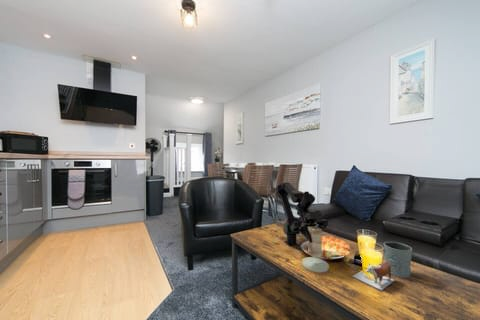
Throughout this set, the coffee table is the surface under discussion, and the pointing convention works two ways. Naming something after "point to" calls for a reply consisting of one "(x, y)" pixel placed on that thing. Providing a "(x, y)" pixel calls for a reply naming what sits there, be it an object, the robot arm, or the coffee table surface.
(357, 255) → the black recessed tray
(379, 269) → the bull figurine
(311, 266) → the saucer
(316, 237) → the birch block
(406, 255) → the grey green pot
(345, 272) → the coffee table surface
